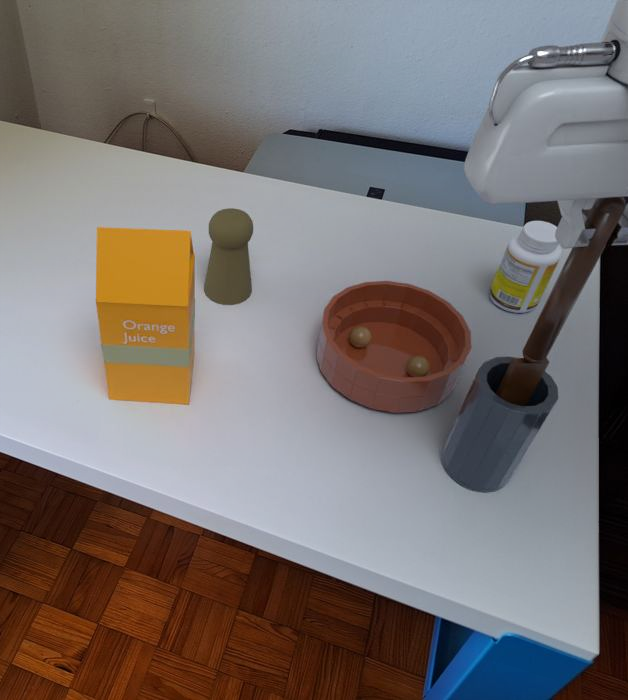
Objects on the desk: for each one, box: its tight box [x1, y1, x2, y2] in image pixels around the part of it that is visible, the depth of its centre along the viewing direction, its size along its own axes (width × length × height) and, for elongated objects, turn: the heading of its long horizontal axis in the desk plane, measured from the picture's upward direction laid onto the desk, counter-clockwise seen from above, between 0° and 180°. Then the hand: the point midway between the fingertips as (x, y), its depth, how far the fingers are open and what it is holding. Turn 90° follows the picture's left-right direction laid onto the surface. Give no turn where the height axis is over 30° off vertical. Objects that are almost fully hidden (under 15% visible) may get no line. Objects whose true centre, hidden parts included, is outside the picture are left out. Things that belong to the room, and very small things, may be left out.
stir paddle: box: [496, 197, 627, 406], centre depth 53 cm, size 3×2×22 cm, turn 93°
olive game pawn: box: [203, 207, 254, 306], centre depth 82 cm, size 6×6×11 cm
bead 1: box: [349, 326, 371, 348], centre depth 77 cm, size 2×2×2 cm
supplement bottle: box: [489, 220, 563, 314], centre depth 79 cm, size 6×6×10 cm
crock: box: [441, 356, 559, 493], centre depth 63 cm, size 6×6×12 cm
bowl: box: [315, 280, 472, 414], centre depth 74 cm, size 15×15×6 cm
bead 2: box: [406, 356, 430, 377], centre depth 73 cm, size 2×2×2 cm
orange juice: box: [95, 226, 196, 406], centre depth 69 cm, size 8×9×20 cm
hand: (592, 241), depth 47 cm, fingers closed on stir paddle, 2 cm apart
